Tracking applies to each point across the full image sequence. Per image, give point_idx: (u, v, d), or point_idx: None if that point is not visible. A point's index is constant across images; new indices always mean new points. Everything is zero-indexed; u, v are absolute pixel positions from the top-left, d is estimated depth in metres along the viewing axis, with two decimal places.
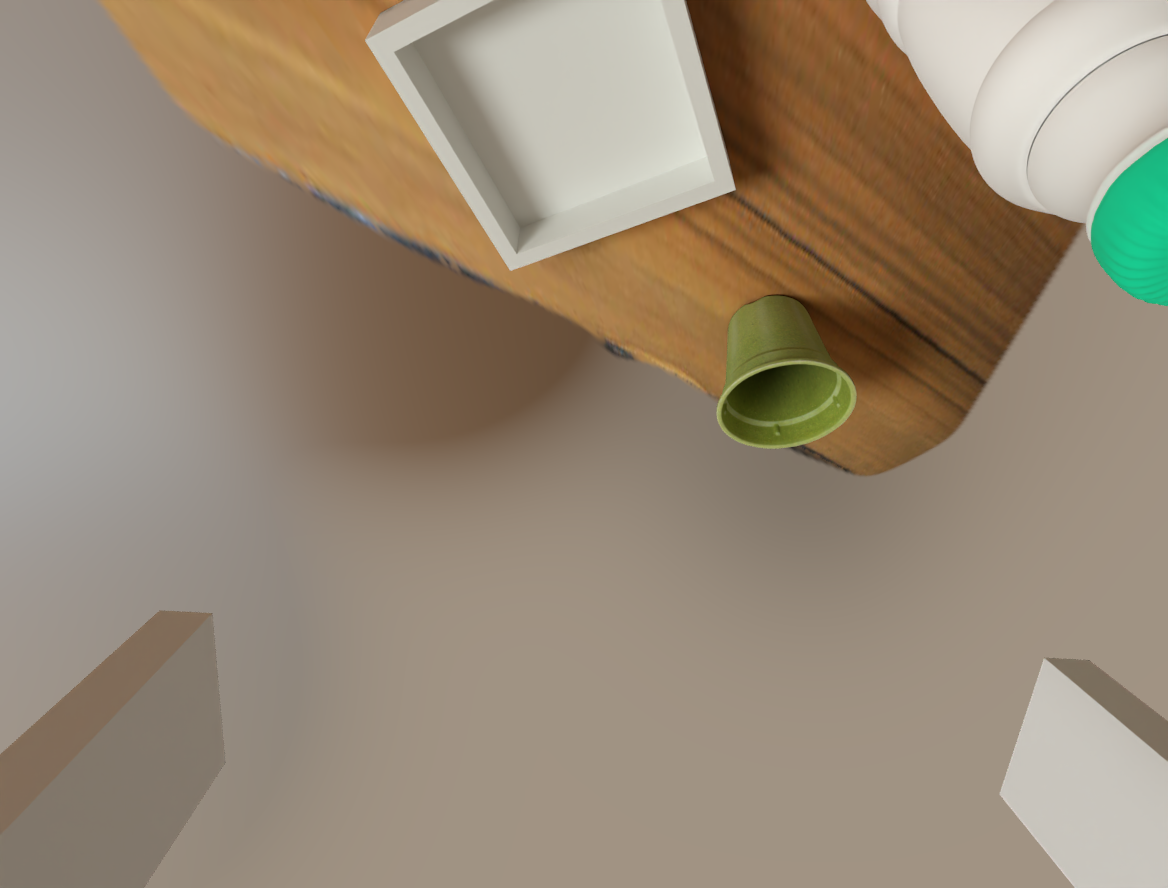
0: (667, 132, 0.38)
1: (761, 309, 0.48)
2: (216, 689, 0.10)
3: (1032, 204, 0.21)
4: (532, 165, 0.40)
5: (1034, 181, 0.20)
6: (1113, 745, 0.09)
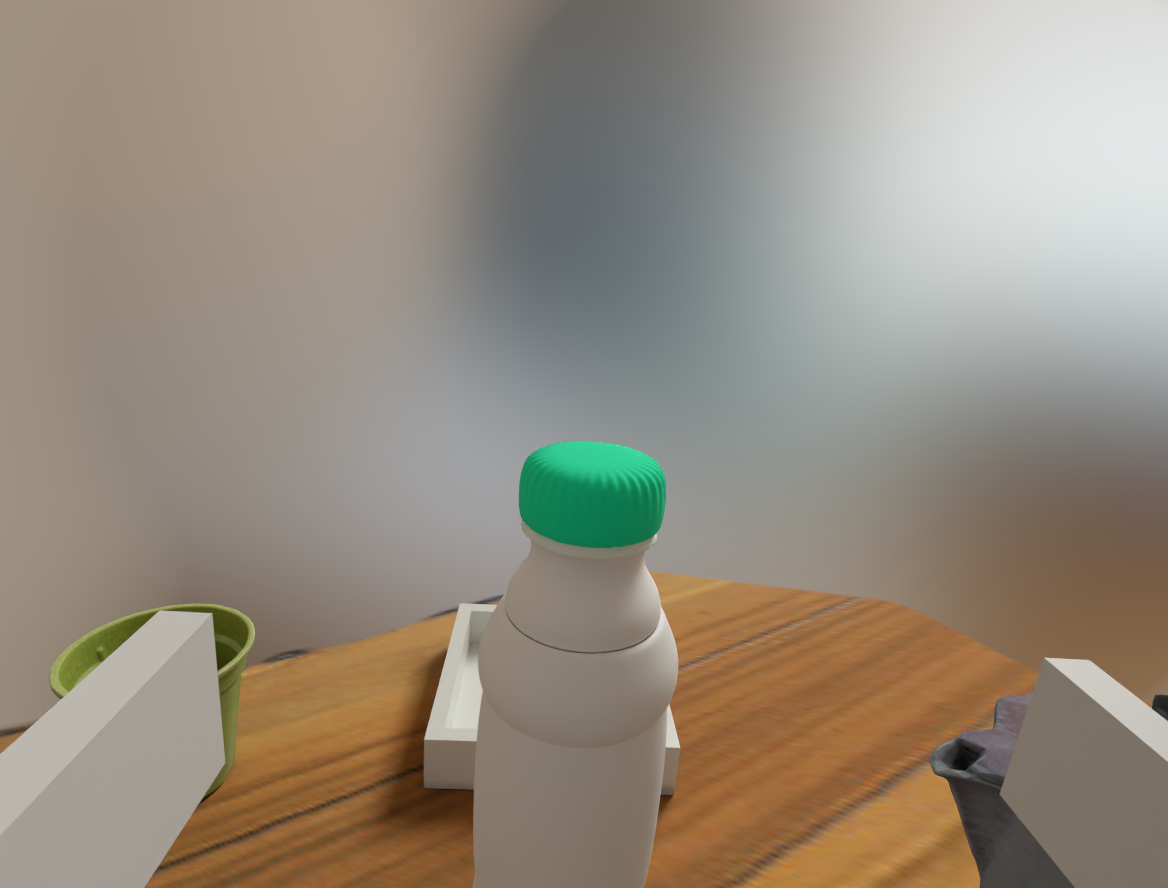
0: None
1: (229, 754, 0.38)
2: (216, 689, 0.10)
3: None
4: None
5: None
6: (1113, 746, 0.09)
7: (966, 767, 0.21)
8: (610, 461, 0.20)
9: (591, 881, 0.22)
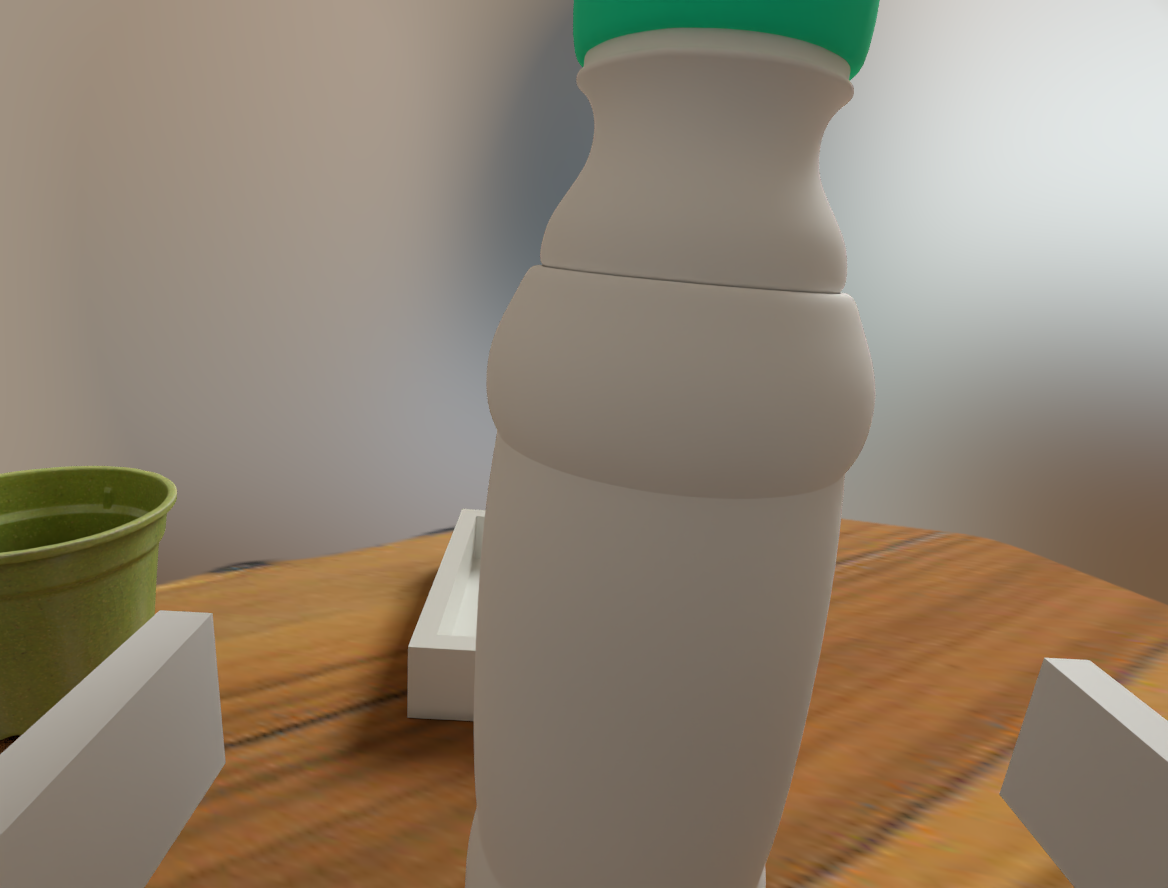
0: None
1: None
2: (216, 689, 0.10)
3: None
4: None
5: None
6: (1113, 746, 0.09)
7: None
8: None
9: (705, 795, 0.11)
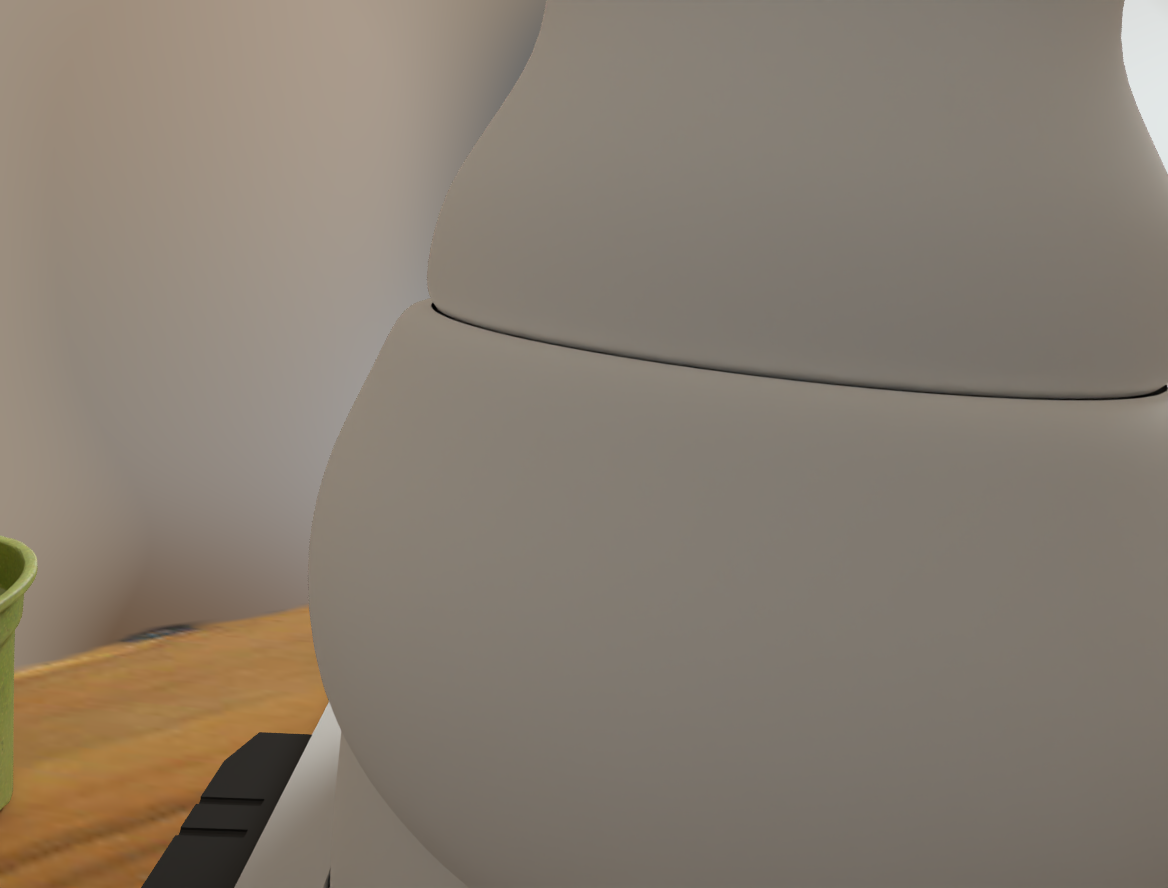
0: None
1: None
2: None
3: None
4: None
5: None
6: None
7: None
8: None
9: None
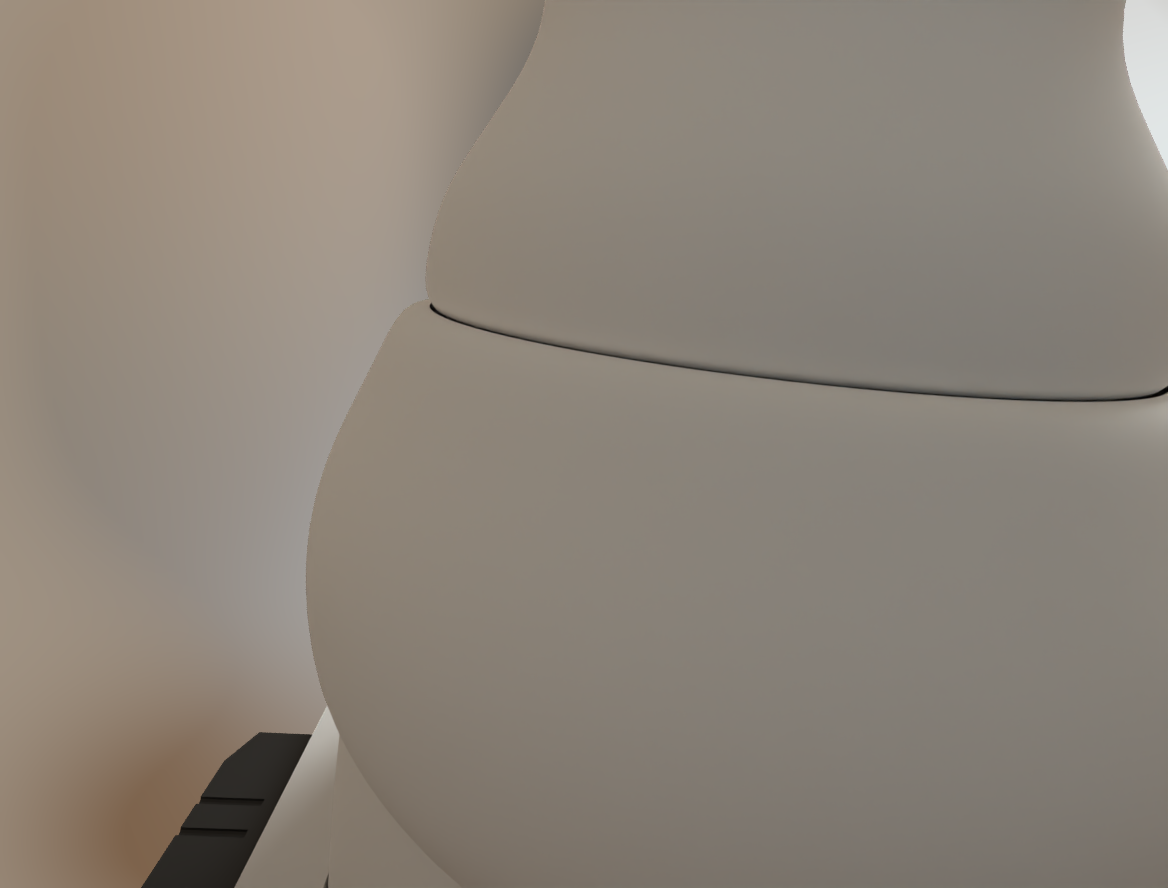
0: None
1: None
2: None
3: None
4: None
5: None
6: None
7: None
8: None
9: None
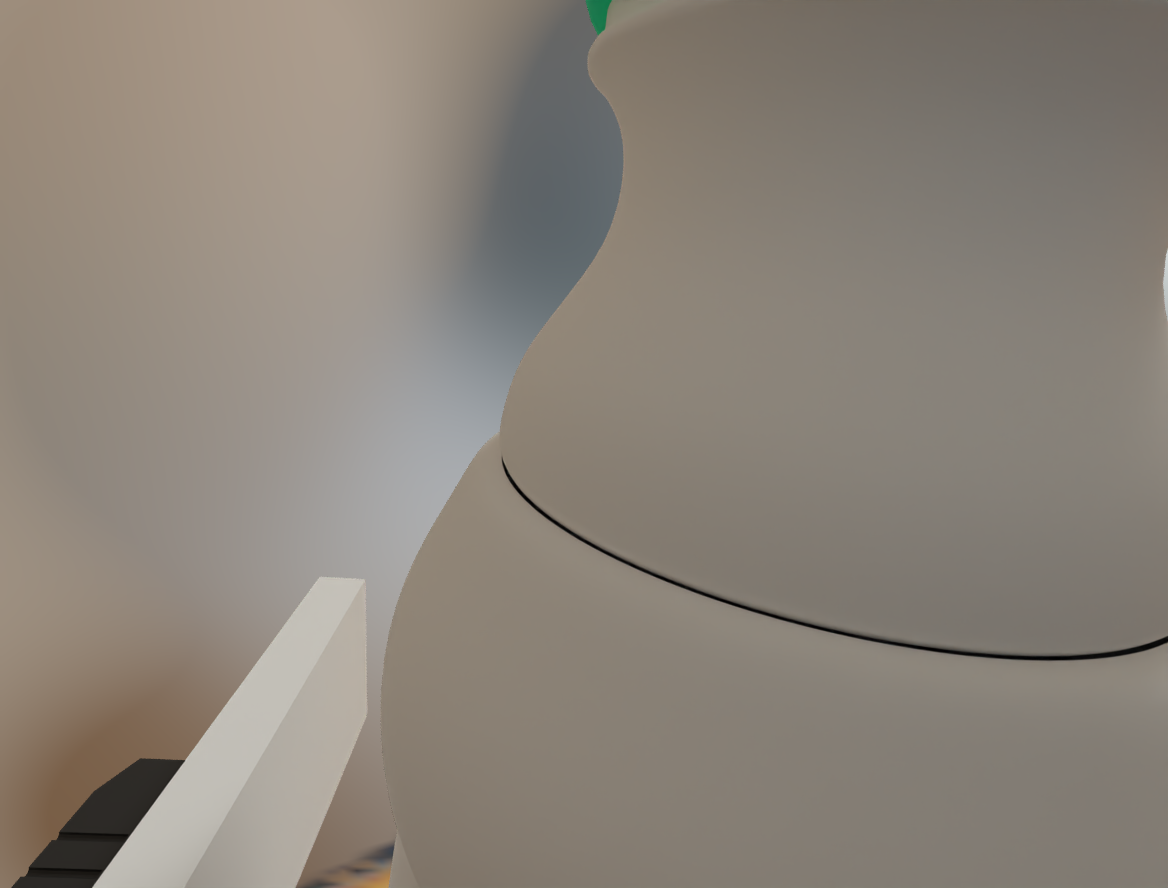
0: None
1: None
2: (365, 647, 0.11)
3: None
4: None
5: None
6: None
7: None
8: None
9: None
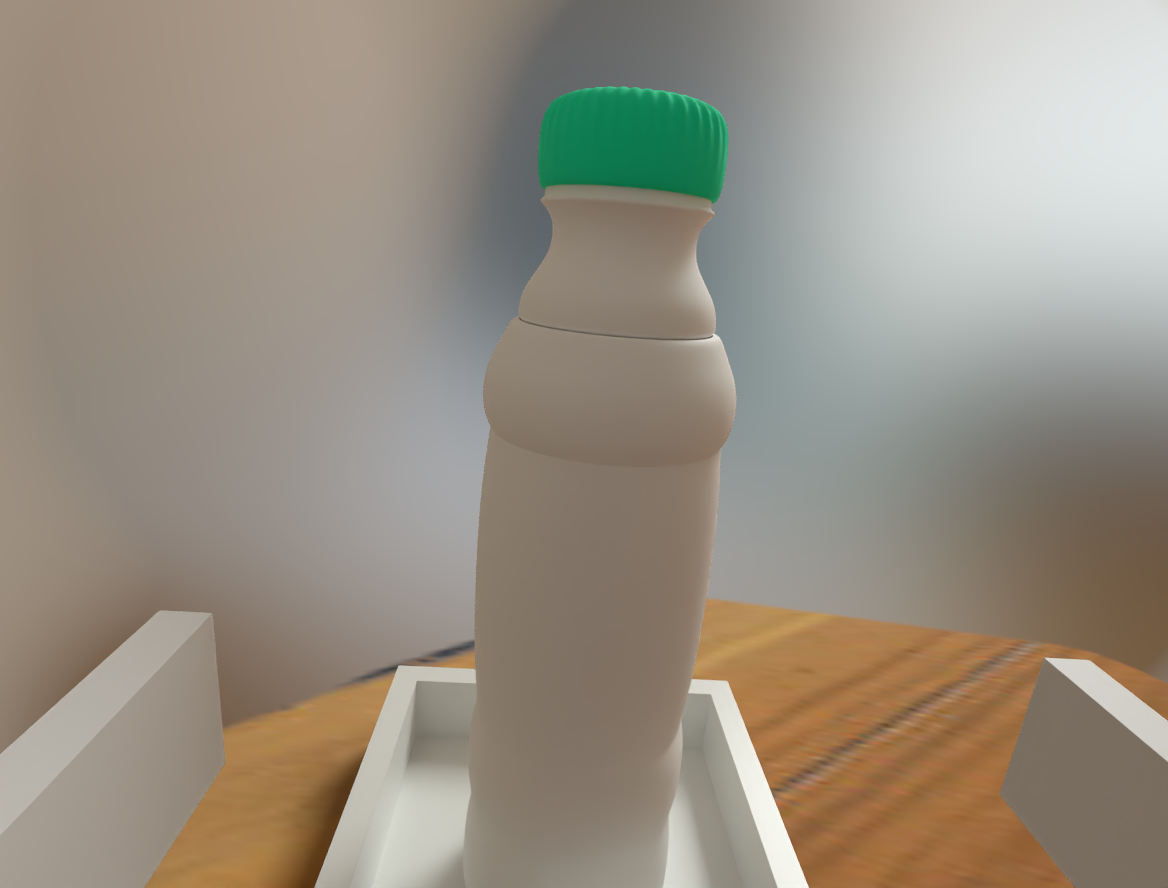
0: None
1: None
2: (216, 689, 0.10)
3: None
4: None
5: None
6: (1113, 745, 0.09)
7: None
8: None
9: (627, 661, 0.17)
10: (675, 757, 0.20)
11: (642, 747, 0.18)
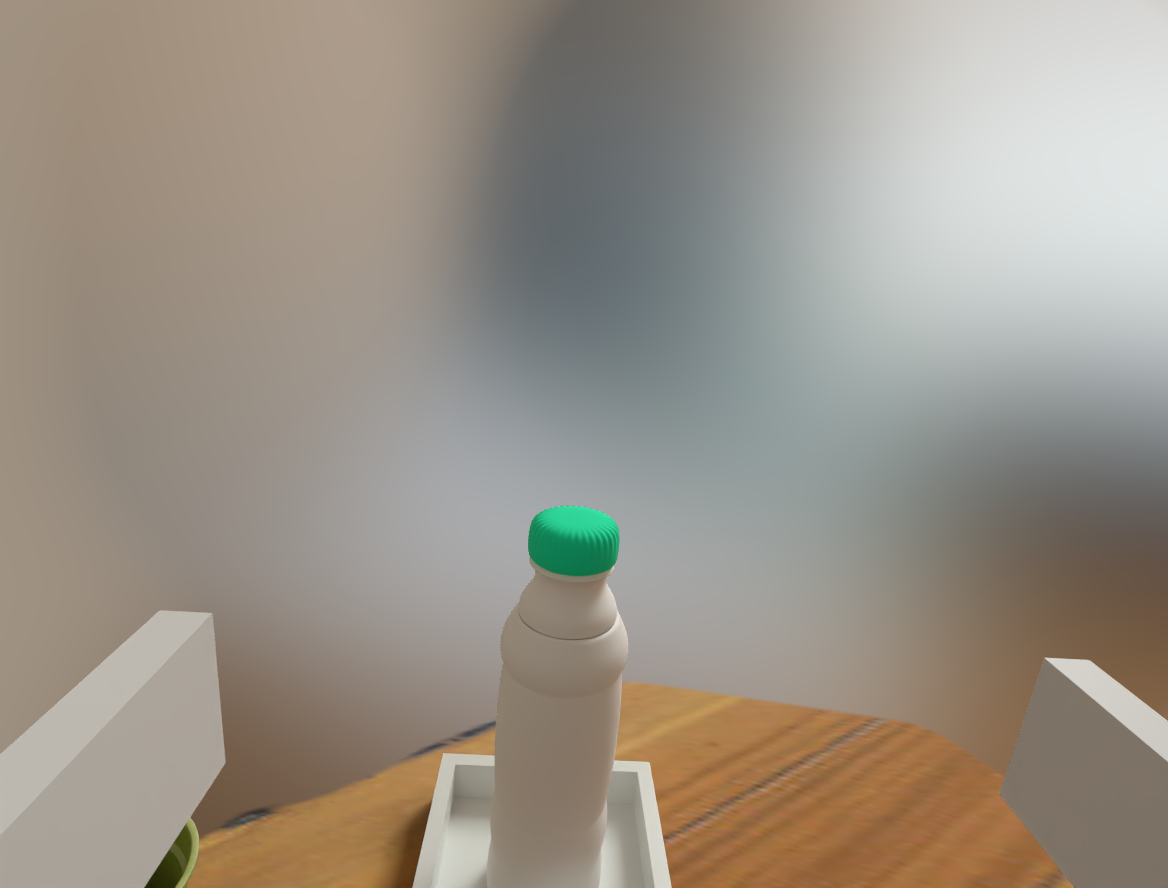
0: None
1: None
2: (216, 689, 0.10)
3: None
4: None
5: None
6: (1113, 745, 0.09)
7: None
8: (584, 522, 0.33)
9: (570, 784, 0.35)
10: (600, 825, 0.38)
11: (580, 823, 0.36)
